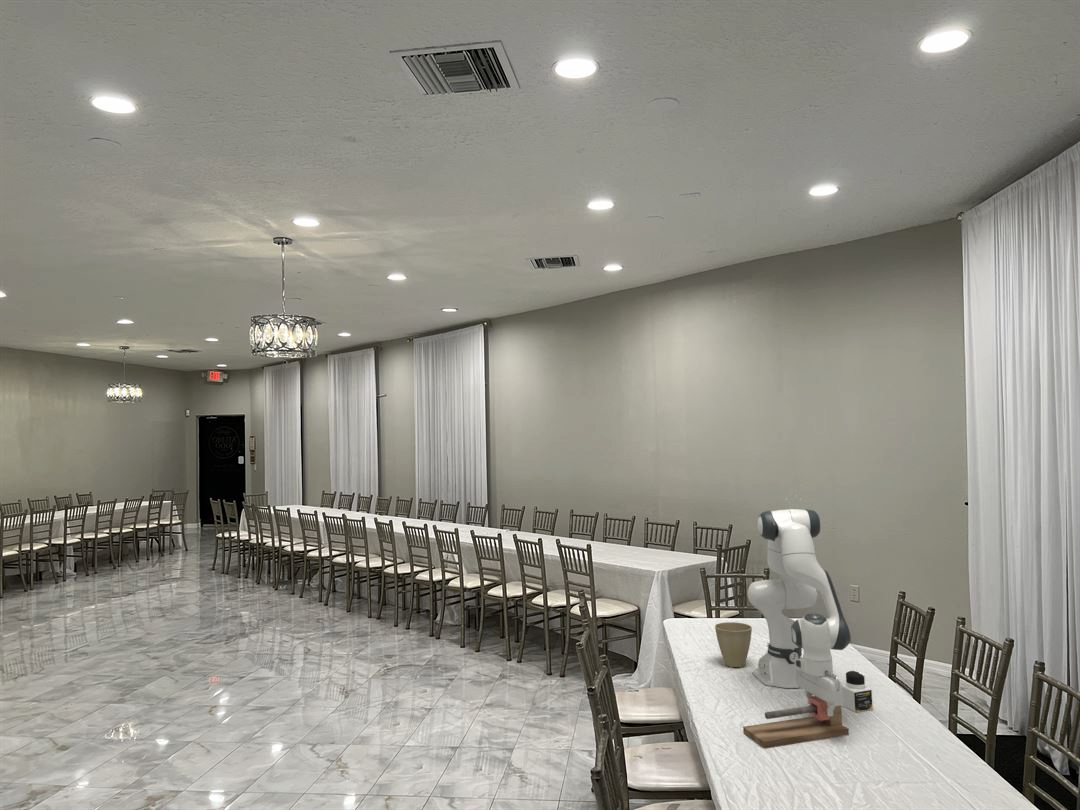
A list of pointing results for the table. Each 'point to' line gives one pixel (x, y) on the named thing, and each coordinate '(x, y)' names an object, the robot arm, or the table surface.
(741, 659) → the plant pot
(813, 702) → the square nut
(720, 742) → the table surface
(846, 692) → the medicine bottle
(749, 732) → the rod stand
